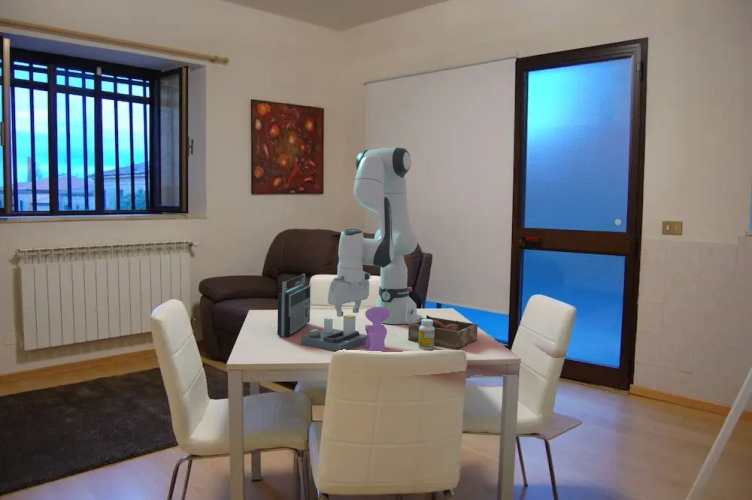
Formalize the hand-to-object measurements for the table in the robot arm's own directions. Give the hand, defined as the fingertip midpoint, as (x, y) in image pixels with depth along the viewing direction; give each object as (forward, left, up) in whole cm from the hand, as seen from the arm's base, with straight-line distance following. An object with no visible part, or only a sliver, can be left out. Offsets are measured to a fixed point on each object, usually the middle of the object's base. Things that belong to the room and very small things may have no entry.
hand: (347, 314), depth 212 cm
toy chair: (0, +12, -10) cm, 16 cm away
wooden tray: (-25, +25, -10) cm, 37 cm away
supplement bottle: (-12, +25, -10) cm, 30 cm away
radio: (-3, -26, -10) cm, 28 cm away
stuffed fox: (-25, +25, -10) cm, 37 cm away
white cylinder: (-1, 0, -8) cm, 8 cm away
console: (+3, -3, -10) cm, 11 cm away
